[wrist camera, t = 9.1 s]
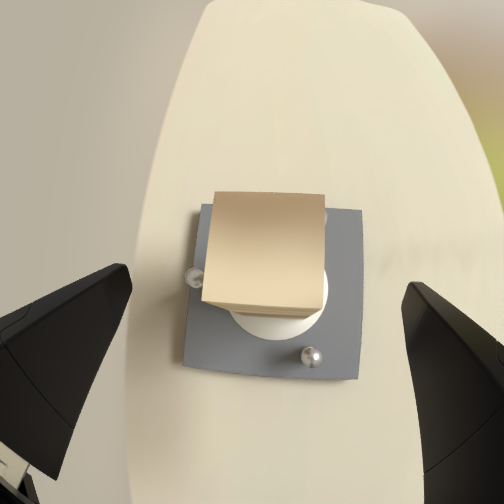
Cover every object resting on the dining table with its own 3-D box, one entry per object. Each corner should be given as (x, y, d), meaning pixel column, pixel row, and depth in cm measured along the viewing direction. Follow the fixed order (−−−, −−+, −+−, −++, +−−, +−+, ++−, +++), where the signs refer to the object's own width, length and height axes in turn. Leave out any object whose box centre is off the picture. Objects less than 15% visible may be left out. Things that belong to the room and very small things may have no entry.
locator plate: (354, 377, 18) (367, 385, 15) (187, 364, 20) (169, 369, 16) (358, 215, 21) (370, 195, 18) (205, 209, 23) (191, 189, 19)
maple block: (304, 319, 19) (322, 308, 9) (244, 315, 19) (201, 300, 10) (307, 260, 20) (324, 194, 10) (249, 257, 20) (214, 191, 11)
